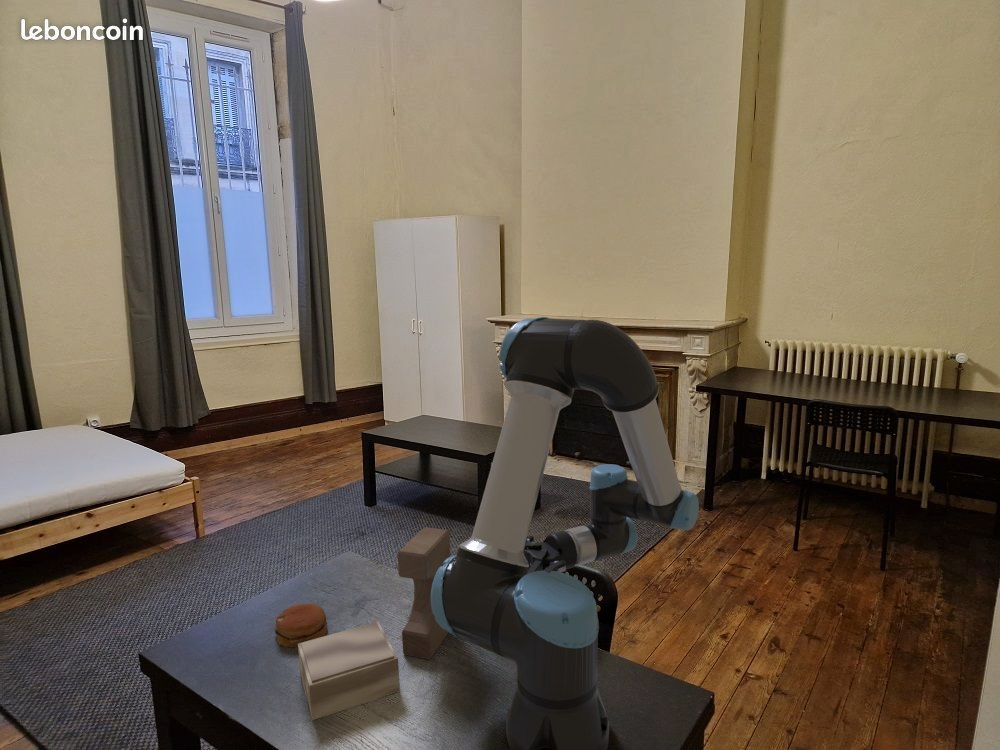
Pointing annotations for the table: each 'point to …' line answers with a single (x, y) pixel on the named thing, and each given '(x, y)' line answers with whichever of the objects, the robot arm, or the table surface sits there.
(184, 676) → the table surface
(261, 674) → the table surface
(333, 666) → the plinth
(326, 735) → the table surface
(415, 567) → the decorative block
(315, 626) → the burger
